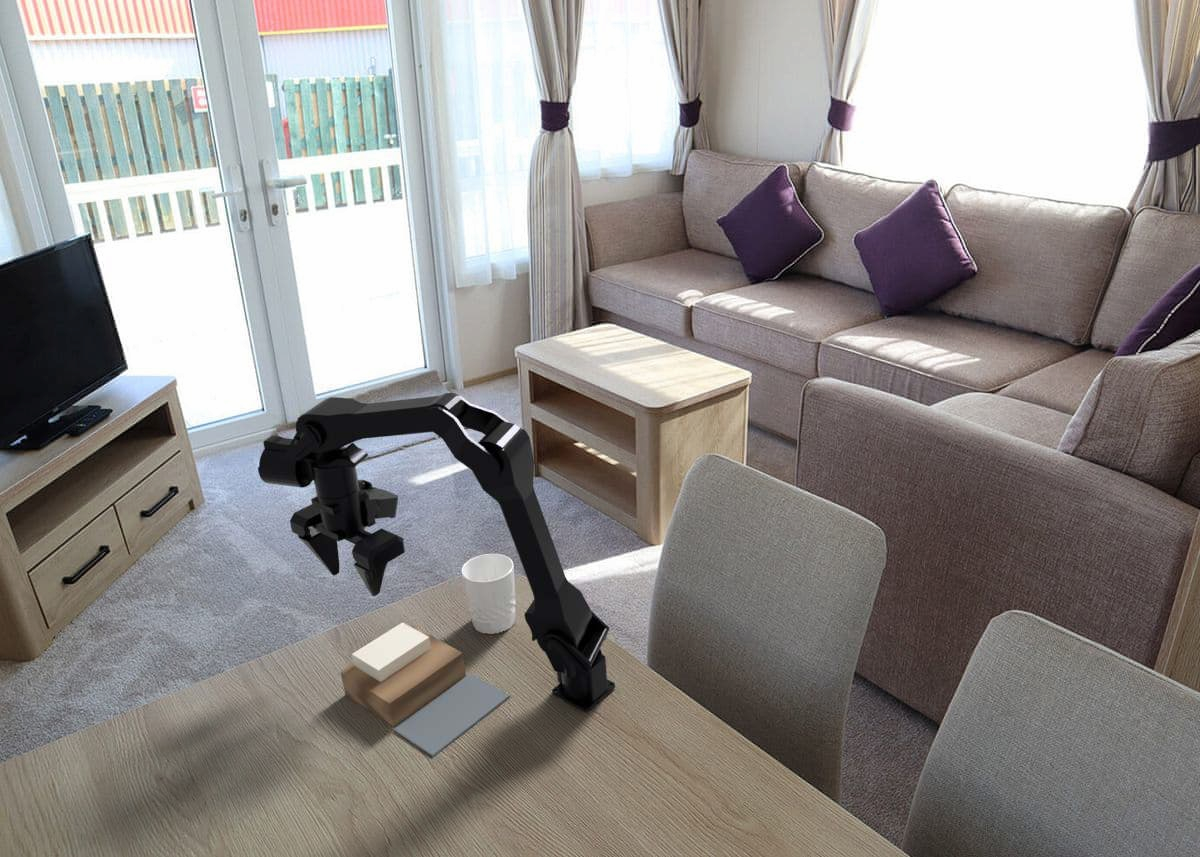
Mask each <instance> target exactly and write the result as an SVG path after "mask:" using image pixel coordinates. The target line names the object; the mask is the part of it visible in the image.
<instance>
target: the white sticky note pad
mask: <svg viewBox="0 0 1200 857" xmlns="http://www.w3.org/2000/svg"><path fill="white" fill-rule="evenodd" d="M430 649H431V645H430V639H429V637H428V636H426V635H425V634H423V633H421V632H419V631H417V630H415V629H414V628H412V627H411V626H410V625H408V624H407V623H405V622H401V623H399V624H398V625H396V626H394V627H393V628H391V629H389V630H388V631H386V632H385V633H383V634H381V635H380V636H378V637H376V638H375V639H374V640H371V641H370V642H369V643H367V644H366V645H364V646H362V647H361V648H359V649H358V650H356V651H354V652H353V653H351V656H352V660H353V662H352V663H354V666H356V667H357V668H359V669H361V670H362V671H364V672H365V673H367V674H369V675H370V676H372V677H373V678H375V679H376V680H378V681H380V682H382V681H383V680H385V679H386V678H388V677H389V676H391V675H392V674H394V673H395V672H397V671H398V670H400V669H401V668H403V667H404V666H406V665H407V664H409V663H410V662H412V661H413V660H415V659H416V658H418V657H419V656H421V655H422V654H424V653H425V652H427V651H428V650H430Z"/></svg>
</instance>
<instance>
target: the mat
mask: <svg viewBox="0 0 1200 857" xmlns="http://www.w3.org/2000/svg"><path fill="white" fill-rule="evenodd" d="M509 698H511V695H510V694H509V693H507V692H505V691H503V690H502V689H500V688H499V687H496V686H494V685H493V684H490V683H489V682H488V681H485V680H483V679H482V678H480V677H479V676H477V675H475V674H473V673H472V672H471V673H469V674H466V676H464V677H463V678H462V679H460V680H459V681H457V682H456V683H455V684H453V685H452V686H450V687H449V688H448V689H446V690H445V691H444V692H442V693H441V694H439V695H438V696H437V697H435V698H434V699H432V700H431V701H430V702H428V703H427V704H425V705H424V706H423V707H421V708H420V709H419V710H417V711H416V712H414V713H413V714H412V715H410V716H409V717H407V718H406V719H405V720H403V721H402V722H401V723H399V724H398V725H396V726H395V727H393V731H394V732H395V733H397V734H398V735H400V736H401V737H403V738H404V739H405V740H407V741H409V742H410V743H411V744H413V745H414V746H416V747H417V748H419V749H420V750H422V751H423V752H425V753H427V754H428V755H429V756H431V757H435V756H436V755H437V754H439V753H440V752H442V750H444V749H445V748H446V747H448V746H449V745H450V744H452V743H453V742H454V741H455V740H457V739H458V738H459V737H460V736H462V735H463V734H465V733H466V732H467V731H468V730H470V729H471V728H472V727H474V726H475V725H476V724H477V723H479V722H480V721H481V720H482V719H484V718H485V717H486V716H487V715H489V714H490V713H491V712H493V711H494V710H495V709H497V707H499V706H501V705H502V704H503V703H505V702H506V701H507V700H508V699H509Z"/></svg>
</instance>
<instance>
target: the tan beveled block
mask: <svg viewBox="0 0 1200 857" xmlns="http://www.w3.org/2000/svg"><path fill="white" fill-rule="evenodd" d="M410 627H412V628H414V629H415V630H417V631H419V632H421V633H423V634H425V635H426V636H428V637H429V639H430V645H431V649H430V650H428V651H427V652H425V653H424V654H422V655H421V656H419V657H418V658H416V659H415V660H413V661H412V662H410V663H409V664H407V665H406V666H404V667H403V668H401V669H400V670H398V671H397V672H395V673H394V674H392V675H391V676H389V677H388V678H386V679H385V680H383V681H382V682H380V681H378V680H376V679H375V678H373V677H372V676H370V675H369V674H367V673H365V672H364V671H362V670H361V669H359V668H357V667H356V666H354V662H352V664H350V665H349V666H347V667H345V668H344V669H342V670H341V671H340V676H341V681H342V685H343V690H344V695H345V696H347V697H349V698H350V699H351V700H353V701H355V702H356V703H357V704H359V705H361V706H362V707H363V708H365V709H367V710H368V711H370V712H371V713H372V714H374V715H376V716H377V717H378V718H380V719H381V720H383V721H385V722H386V723H387V724H389V725H391V726H392V727H393V728H395V727H397V726H398V725H399V724H401V723H402V722H404V721H405V720H406V719H408V718H409V717H411V716H412V715H413V714H415V713H416V712H418V711H419V710H420V709H422V708H423V707H424V706H426V705H427V704H429V703H430V702H431V701H433V700H434V699H436V698H437V697H438V696H440V695H441V694H442V693H444V692H445V691H447V690H448V689H449V688H451V687H452V686H454V685H455V684H456V683H458V682H459V681H460V680H462V679H463V678H465V677H466V676H467V674H466V666H465V661H464V660H465V659H464V654H463V651H460V650H459V649H456V648H454V647H453V646H451V645H450V644H447V643H445V642H444V641H442V640H440V639H439V638H436V637H435V636H433V635H431V634H429V633H428V632H426V631H424V630H422V629H420V628H418V627H416V626H415V625H411V626H410Z"/></svg>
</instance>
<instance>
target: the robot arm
mask: <svg viewBox="0 0 1200 857" xmlns="http://www.w3.org/2000/svg"><path fill="white" fill-rule="evenodd" d="M466 429H469V430H472V431H476V432H479V433H482V434H484V436H483V437H482V438H481V439H479V441H478V442H477V441H475V440H474V439H473V438H472V437H470V435H469V433H468V432H467V431H466ZM295 432H296V433H295V434H294V436H293V438H288V437H287V438H286V437H282V436H280V435H273V434H272V435H271V436H269V437H268V438H266V439H265V440H263V442H262V443H263V448H264V449H263V450H262V452H261V454H260V457H259V461H258V462H259V463H258V467H257V471H258V475H259V477H260V479H261V481H263V482H264V483H266V484H270V485H279V486H286V487H287V486H288V487H292V488H293V487H294V488H307V487H308V486H310V485H311V483H313V482H314V487H315V489H314V490H315V492H316V493H315V494H316V496H315V497H313V498H311V499H310V500H311V504H309V505H307V506H305V507H303V508H301V509H298V510H297V511H295V512H293V513H292V516H291V517H290V520H289V524H290V528H291V532H292V533H293V534H296V535H297V536H298V539H299V540H301V541H302V543H304V544H305V546H306V547H307V548H308V549H309V550H310V551H311V552H312V554H313V555H314V556H315V557H316V558H317V560H318V561H319V562H321V564H322V565H323V566H324V568H326V570H327V571H328V572H329V573H330V574H331V575H332V576H336V575H338V574H339V573H340V557H339V546H338V542H340V541H343V540H345V541H347V542H349V543H351V544H354V546H353V548H352V550H351V553H352V558H353V559H354V561H355V563H353V567H355V569H356V571H357V573H358V574H359V576H360V578H361V580H362V582H363V583H364V585H365V586H366V589H367V590H368V591H369V593H370V594H371V596H372V597H376V596H377V595H379V594H380V593H381V588H382V584H383V580H384V576H385V573H386V572H385V571H386V568H387V565H388V563H389V562H391V561H393V560H395V559H396V558H398V557H400V556H401V555H403V554H405V552H406V545H405V541H404V537H402V536H399V535H397V534H395V533H393V532H390V531H388V530H386V529H385V528H380V529H378V530H376V531H374V532H369V531H367V530H365V529H366V527H368V528H370V527H372V526H374V525H376V524H377V523H376V520H377V519H384V518H390V519H395V518H396V517H397V510H398V503H399V495H397V494H395V493H393V492H390V491H388V490H385V489H382V488H378V487H375V486H374V487H373V483H372V482H370V481H368V480H366V479H358V473H357V468H356V467H357V466H358V465H359V464H361V463H362V462H363V461H364V460H365V459H366V458H368V456H369V454H368V452H367V451H366V450H364V449H363V448H360V447H358V446H357V445H356V444H355V443H354V442H357V441H360V440H363V439H365V440H366V439H374V438H384V437H392V436H393V437H394V436H405V435H415V434H427V433H433V434H435V435H436V436H438V437H439V438H441V439H442V440H443V442H444V444H445V445H446V447H447V448H448V450H449V451H450V452H451V454H452V455H453V457H454V458H455V460H457V461H458V462H460V463H461V464H462V465H464V466H465V467H466V468H468V469H470V470H471V471H472V473H473V475H474V477H475V479H476V480H477V482H478V484H479V486H480V487H481V489H482V490H483V492H485V493H486V494H487V495H488V496H490V497H491V498H492V499H493V500H495V501H496V502H497V503H498V505H499V507H500V510H501V513H502V515H503V518H504V520H505V523H506V526H507V528H508V531H509V533H510V537H511V539H512V542H513V544H514V546H515V549H516V552H517V555H518V557H519V560H520V563H521V565H522V568H523V571H524V573H525V575H526V579H527V581H528V582H527V583H528V584H529V587H530V589H531V592H532V595H533V600H532V602H531V603H530V605H529V606H528V607H527V609H526V611H525V612H524V614H523V616H524V618H525V622H526V624H527V626H528V628H529V629H530V632H531V641H532V642H534V641H536V642H537V645H538V646H539V649H541V650H542V651H543V652H545V655H546V658H548V661H549V663H550V665H551V666H552V670H553V671H554V672H555V673H556V674H557V675H556V676H557V682H558V683H559V684H557V685H556V686H555V687H554V688H552V689H551V693H552V695H554V696H555V697H557V698H558V699H561V700H563V701H564V702H566V703H568V704H569V705H571V706H573V707H576V708H577V709H579V710H580V711H583V712H589V711H590V710H591V709H592V708H593V707H594V706H596V705H597V704H598V703H599V702H601V700H602V699H604V698H605V697H606V696H607V695H608V694H609V693H610V692H612V691H613V690H614V689H615V688H616V683H615V682H614V681H612V680H609V679H608V673H607V663H606V660H607V657H606V656H605V655H604V654H603V653H602V649H601V647H602V646H603V643H604V642H605V641H606V638H607V637H608V634H609V631H610V627H609V626H608V625H607V624H606V623H605V622H604V621H603V620H602V619H601V618H600V617H599V616H597V615H596V613H594V612H593V611H592V610H591V607H590V606H589V604H588V602H587V601H586V599H585V596H584V595H583V593H582V591H581V590H580V589H579V588H578V587H577V586H575V585H573V584H572V583H571V582H570V581H568V579H567V577H566V575H565V574H566V573H565V572H564V568H563V566H562V564H561V561H560V558H559V555H558V553H557V549H556V546H555V545H554V544H555V543H554V540H553V539H552V536H551V533H550V530H549V527H548V525H547V521H546V518H545V517H544V513H543V511H542V508H541V505H540V503H539V499H538V497H537V494H536V492H535V488H534V475H535V474H534V472H535V471H534V470H535V459H534V453H533V448H532V441H531V438H530V435H529V434H528V432H527V430H526V429H525V428H523V427H520V426H519V425H517V424H516V423H512V422H510V421H509V420H507V419H506V418H504V417H503V416H502V415H501V414H499V413H497V411H494V410H491V409H489V408H485V407H482V406H480V405H477V404H473V403H471V402H470V401H468V400H467V399H466V398H464V397H463V396H462V395H460V394H458V393H456V392H446V393H445V392H444V393H443V394H441V395H434V396H433V395H431V396H425V397H423V396H422V397H415V398H408V399H407V398H405V399H399V400H397V399H396V400H389V401H380V402H378V401H377V402H372V403H368V402H367V403H366V402H359V401H358V400H356V399H354V398H348V397H335V396H332V397H331V396H330V397H327V398H325V399H323V400H322V401H320V402H319V403H318V404H316V405H314V406H313V407H312V408H310V409H309V410H307V411H306V412H305V413H302V414H301V415H300V416H298V417H297V420H296V422H295Z"/></svg>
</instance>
